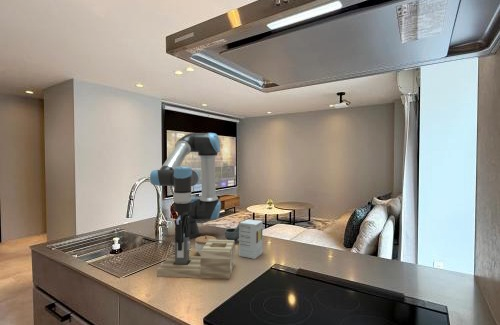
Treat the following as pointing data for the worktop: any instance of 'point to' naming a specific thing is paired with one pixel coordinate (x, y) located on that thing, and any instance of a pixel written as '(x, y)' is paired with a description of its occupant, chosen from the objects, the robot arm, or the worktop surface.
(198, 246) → the lidded jar
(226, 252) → the dock
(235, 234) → the mortar and pestle
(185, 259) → the plug
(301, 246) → the worktop surface
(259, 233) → the supplement box
